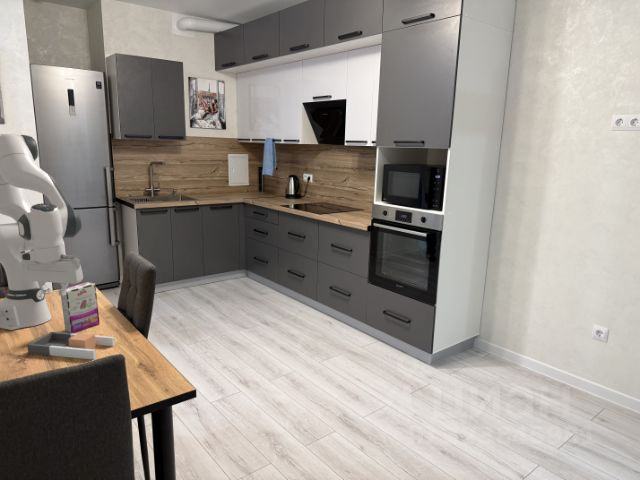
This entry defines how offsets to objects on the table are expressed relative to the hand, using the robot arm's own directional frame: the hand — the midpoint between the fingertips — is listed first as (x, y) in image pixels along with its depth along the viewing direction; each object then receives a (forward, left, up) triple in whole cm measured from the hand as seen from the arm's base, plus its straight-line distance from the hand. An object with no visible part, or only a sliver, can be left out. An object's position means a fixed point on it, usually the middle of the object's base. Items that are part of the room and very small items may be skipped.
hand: (54, 294), depth 149 cm
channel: (+8, 0, -19) cm, 21 cm away
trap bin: (-4, 0, -19) cm, 19 cm away
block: (+8, 0, -19) cm, 21 cm away
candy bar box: (-5, +17, -19) cm, 26 cm away
